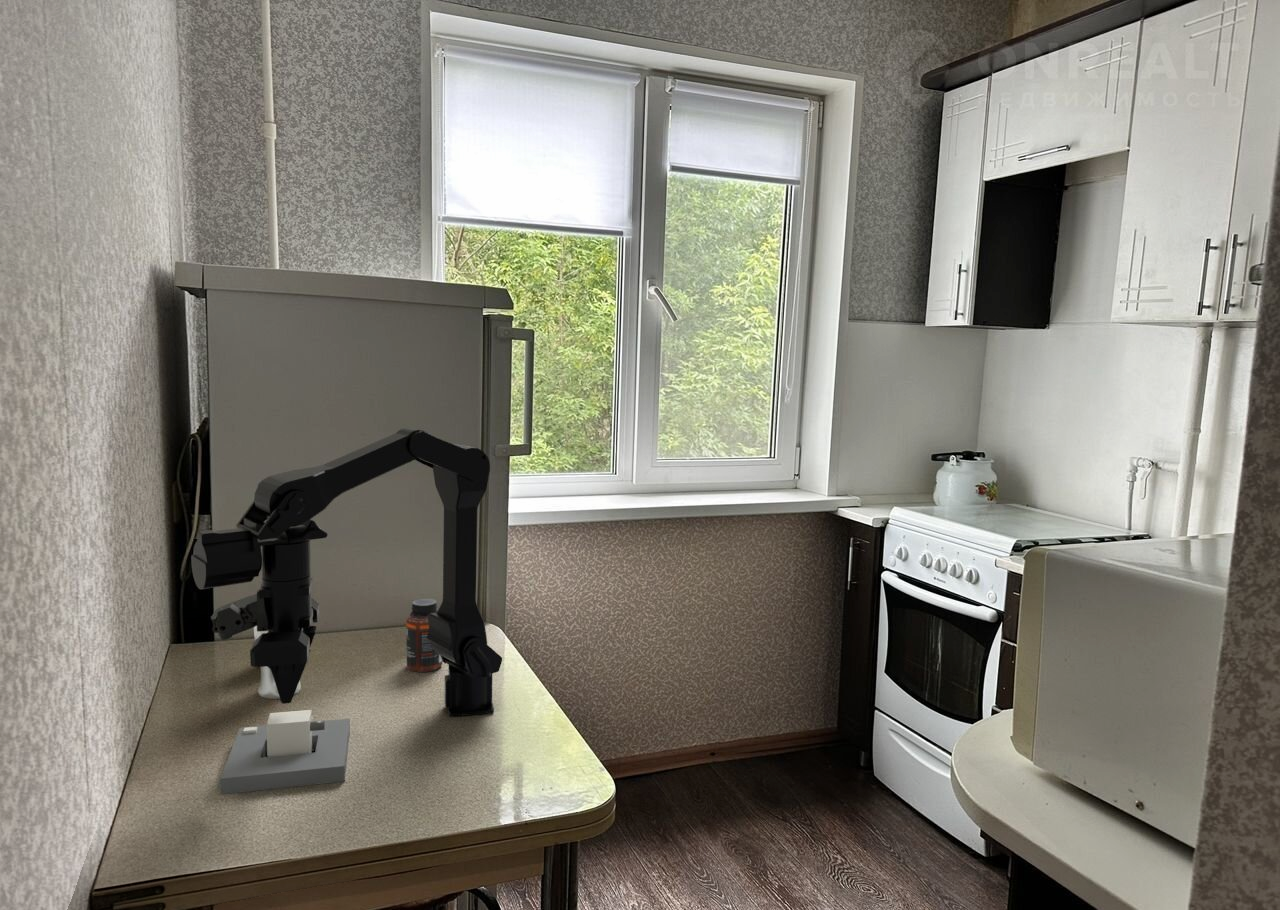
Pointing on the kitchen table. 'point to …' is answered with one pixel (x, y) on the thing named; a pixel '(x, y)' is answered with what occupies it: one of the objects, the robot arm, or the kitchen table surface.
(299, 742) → the plug
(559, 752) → the kitchen table surface
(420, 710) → the kitchen table surface
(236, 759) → the socket plate
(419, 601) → the supplement bottle
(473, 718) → the kitchen table surface
